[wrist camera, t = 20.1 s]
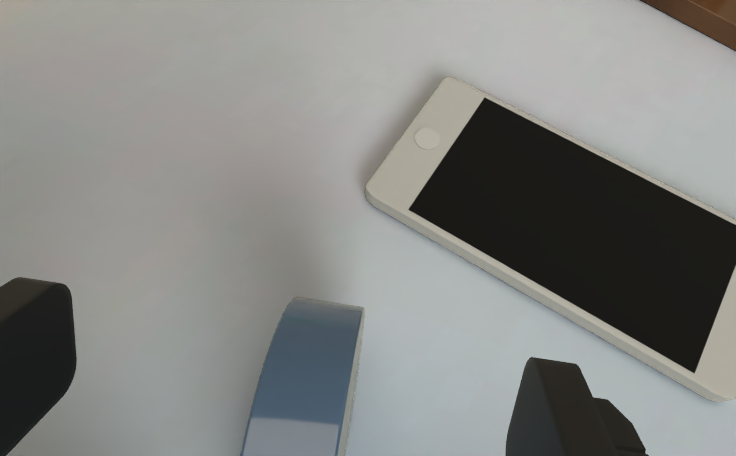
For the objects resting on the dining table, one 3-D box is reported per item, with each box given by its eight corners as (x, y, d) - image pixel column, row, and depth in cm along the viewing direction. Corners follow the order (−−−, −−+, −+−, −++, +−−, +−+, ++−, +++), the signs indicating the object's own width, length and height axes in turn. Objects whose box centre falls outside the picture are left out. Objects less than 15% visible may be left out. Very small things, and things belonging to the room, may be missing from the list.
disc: (361, 349, 21) (369, 260, 14) (320, 614, 17) (298, 695, 10) (310, 341, 21) (288, 248, 14) (257, 603, 17) (186, 675, 10)
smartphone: (444, 85, 26) (447, 71, 25) (774, 253, 23) (790, 245, 22) (361, 200, 23) (361, 189, 22) (719, 408, 20) (736, 405, 19)
